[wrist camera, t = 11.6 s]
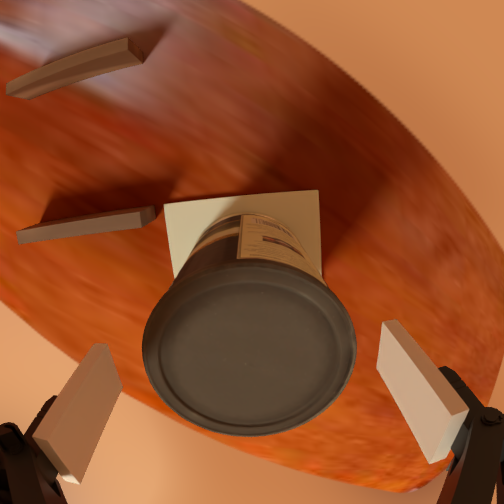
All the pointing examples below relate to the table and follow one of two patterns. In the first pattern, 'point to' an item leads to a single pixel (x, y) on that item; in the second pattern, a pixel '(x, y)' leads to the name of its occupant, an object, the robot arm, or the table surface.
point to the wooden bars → (56, 77)
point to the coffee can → (249, 332)
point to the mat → (271, 204)
